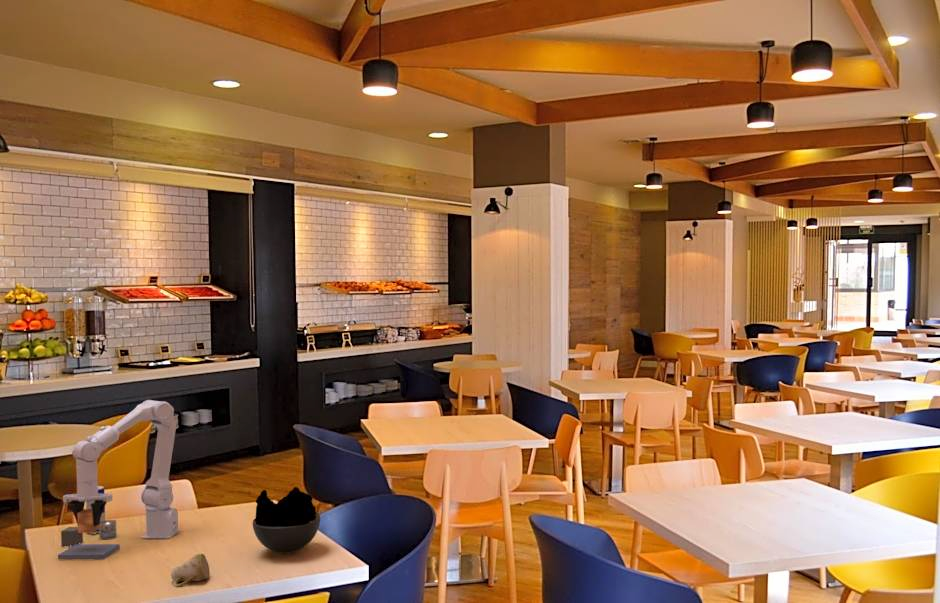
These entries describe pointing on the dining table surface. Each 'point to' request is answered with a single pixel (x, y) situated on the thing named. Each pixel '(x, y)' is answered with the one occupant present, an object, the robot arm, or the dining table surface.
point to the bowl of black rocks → (286, 521)
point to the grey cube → (108, 529)
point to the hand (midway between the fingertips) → (88, 525)
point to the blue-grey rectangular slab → (89, 551)
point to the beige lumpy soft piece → (191, 571)
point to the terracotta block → (86, 521)
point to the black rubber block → (71, 536)
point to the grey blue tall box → (88, 506)
